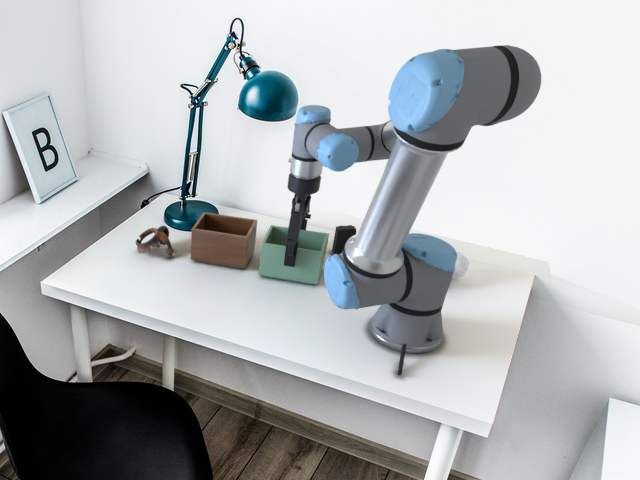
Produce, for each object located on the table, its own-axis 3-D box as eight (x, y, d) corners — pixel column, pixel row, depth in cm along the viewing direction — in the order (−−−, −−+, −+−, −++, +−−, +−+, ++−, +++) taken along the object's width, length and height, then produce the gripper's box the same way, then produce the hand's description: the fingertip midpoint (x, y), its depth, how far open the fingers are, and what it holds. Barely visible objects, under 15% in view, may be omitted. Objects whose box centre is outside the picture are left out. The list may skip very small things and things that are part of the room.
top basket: (316, 288, 164) (322, 252, 158) (258, 277, 169) (261, 243, 163) (323, 267, 172) (329, 233, 166) (266, 258, 177) (270, 225, 171)
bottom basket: (244, 271, 171) (248, 237, 166) (190, 262, 176) (191, 229, 170) (254, 253, 180) (257, 219, 174) (201, 244, 184) (203, 212, 178)
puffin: (442, 250, 169) (418, 273, 163) (467, 244, 163) (443, 268, 157) (453, 272, 170) (430, 295, 165) (478, 267, 164) (455, 291, 159)
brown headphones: (169, 265, 176) (154, 243, 172) (142, 272, 182) (127, 250, 178) (183, 237, 183) (169, 214, 178) (157, 243, 189) (142, 222, 184)
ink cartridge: (349, 251, 179) (354, 224, 174) (351, 255, 177) (357, 228, 173) (331, 252, 179) (336, 225, 174) (333, 255, 177) (338, 229, 173)
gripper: (298, 154, 165) (288, 230, 177) (279, 191, 146) (269, 273, 159) (328, 157, 163) (316, 234, 175) (313, 195, 144) (300, 279, 156)
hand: (294, 253), depth 167 cm, fingers open, 13 cm apart
